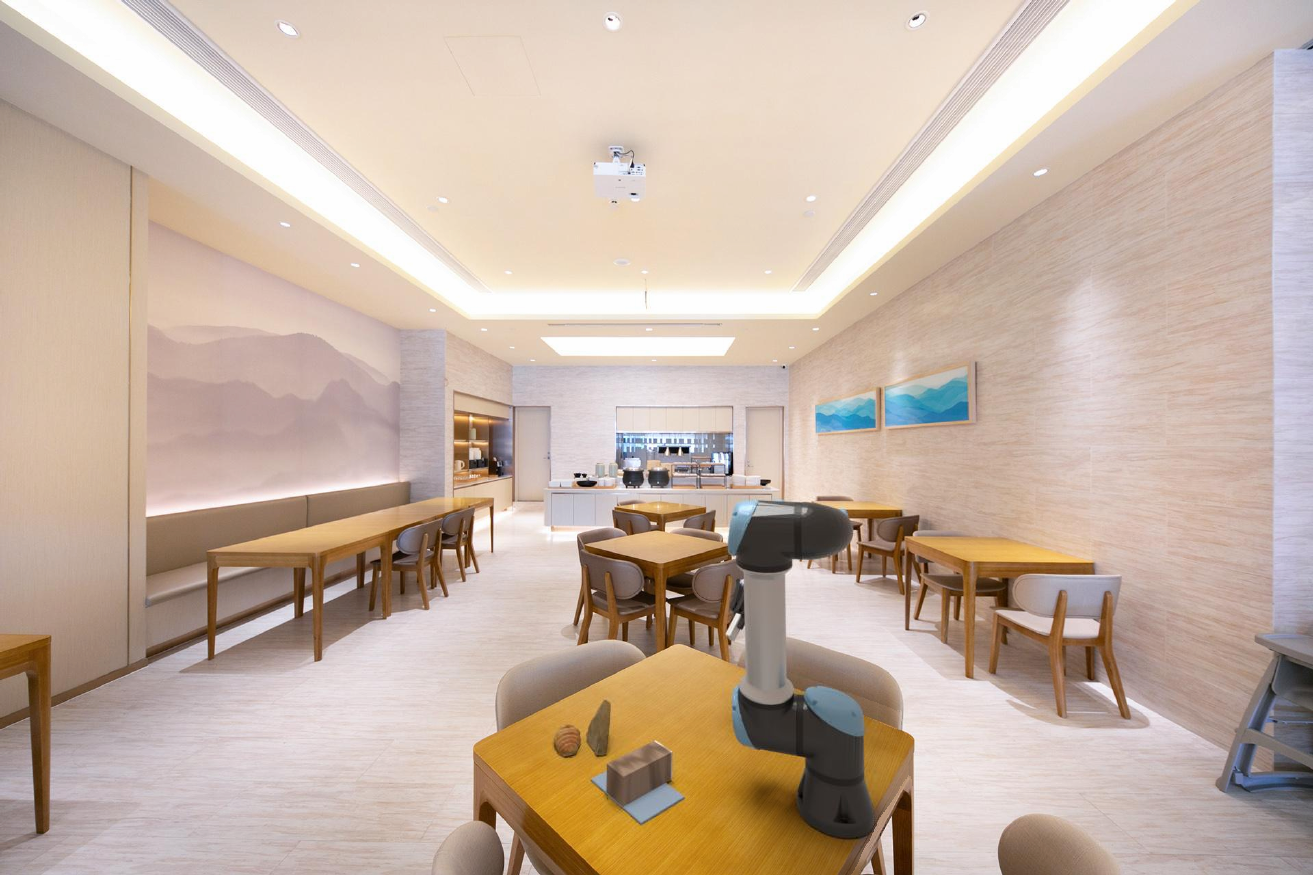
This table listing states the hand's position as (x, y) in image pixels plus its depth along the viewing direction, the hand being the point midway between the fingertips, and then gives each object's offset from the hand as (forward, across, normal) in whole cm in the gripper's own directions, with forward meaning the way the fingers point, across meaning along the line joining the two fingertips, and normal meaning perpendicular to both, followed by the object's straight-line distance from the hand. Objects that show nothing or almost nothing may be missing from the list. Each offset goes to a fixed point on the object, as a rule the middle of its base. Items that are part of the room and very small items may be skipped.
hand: (729, 637), depth 130 cm
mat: (+40, 0, +4) cm, 41 cm away
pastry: (+42, +25, +5) cm, 49 cm away
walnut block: (+32, 0, +1) cm, 32 cm away
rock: (+38, +20, +1) cm, 43 cm away
